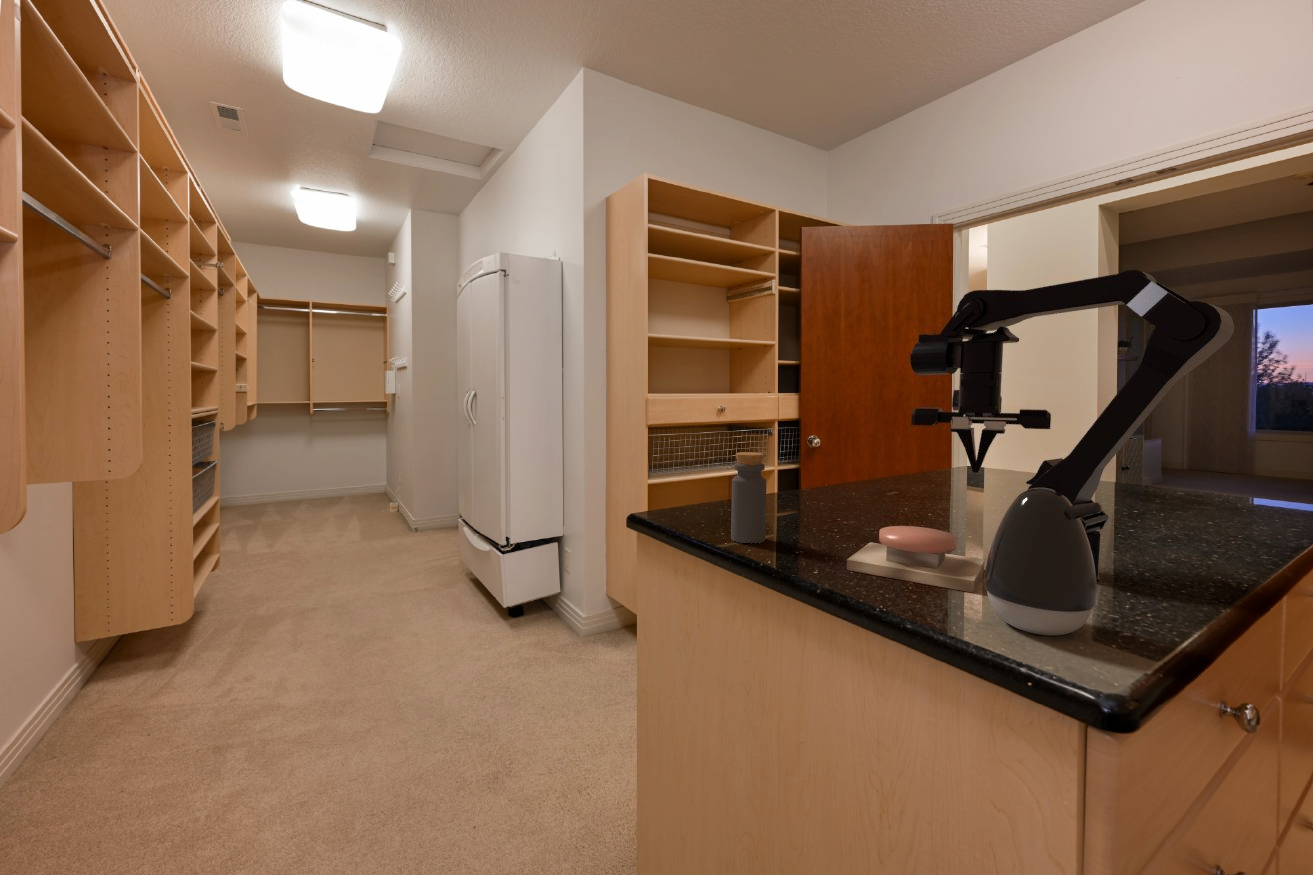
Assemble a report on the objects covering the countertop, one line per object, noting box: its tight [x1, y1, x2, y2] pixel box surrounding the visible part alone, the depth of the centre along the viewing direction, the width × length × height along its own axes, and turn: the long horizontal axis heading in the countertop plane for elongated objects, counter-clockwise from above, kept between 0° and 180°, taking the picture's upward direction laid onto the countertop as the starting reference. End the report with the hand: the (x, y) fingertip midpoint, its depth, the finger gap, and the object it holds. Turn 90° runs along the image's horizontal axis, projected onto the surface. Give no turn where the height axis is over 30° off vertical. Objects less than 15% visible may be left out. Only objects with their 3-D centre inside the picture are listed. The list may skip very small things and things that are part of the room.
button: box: [878, 525, 957, 554], centre depth 82 cm, size 10×10×3 cm
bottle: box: [730, 451, 767, 545], centre depth 98 cm, size 6×6×15 cm
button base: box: [846, 542, 986, 593], centre depth 82 cm, size 16×12×4 cm
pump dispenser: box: [983, 488, 1103, 636], centre depth 62 cm, size 10×10×15 cm
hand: (975, 472), depth 91 cm, fingers closed
